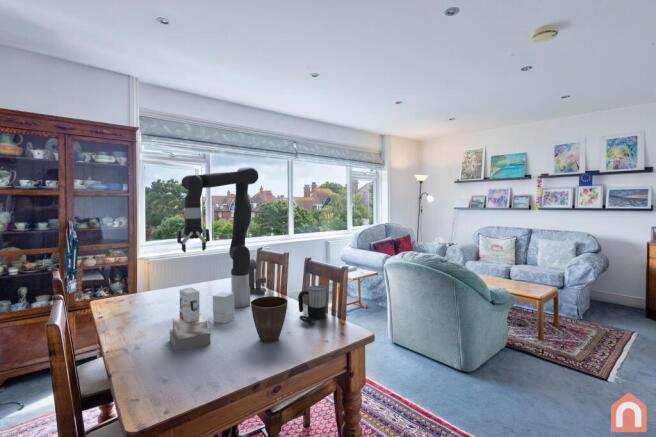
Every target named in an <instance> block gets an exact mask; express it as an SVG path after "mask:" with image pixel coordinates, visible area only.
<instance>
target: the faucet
mask: <svg viewBox="0 0 656 437" xmlns="http://www.w3.org/2000/svg"><path fill="white" fill-rule="evenodd" d="M257 268H258V264H257V261H256V260H255V259H252V258H250V269H249V288H250V295H265V293H266V292H267V289H266V288H265V287H262V284H266V283H267V277H258V278H257V279H255V270H257ZM255 280H256V281H255Z"/></svg>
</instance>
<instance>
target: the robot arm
mask: <svg viewBox="0 0 656 437" xmlns="http://www.w3.org/2000/svg"><path fill="white" fill-rule="evenodd" d="M258 179H259V172H258V170H256V169H255V168H254V167H251V166H250V167H249V166H247V167H245V166H244V167H239V168H238V169H237V171H222V172H209V173H203V174H191V175H190V174H189V175H186V176H184V177H183V178H182V179H181V186H182V188H183V189H185V190H187V191H188V192H187V195H186V196H184V213H183V214H184V230H180V229H178V230H177V238H176V242H177V243H178V244H181V251H182V252H183V253H186V252H187V247H186V243H187V242H188V241H189V239H190V240H193V239H199V240H200V241H201V250H202V251H205V250H206V249H207V242H210V241H211V238H210V230H209V228H203V222H202V221H203V220H202V217H203V216H202V213H203V212H202V208H201V207H202V206H201V204H202V203H201V202H202V200H201V198H202V193H203V189H211V188H216V187H217V188H218V187H223V186H228V185H230V186H231V185H235V197H234V199H235V200H234V209H233V221H232V235H231V240H230V246H229V257H230V259H232V268H231V270H230V273H231V274H230V283H231V284H230V285H231V286H230V287H231V289H230V290H231V292H230V293H234V309H235V308H236V309H238V308H239V309H241V308H246V307H249V306H251V294H250V288H249V269H250V260H251V252H250V249H249V248H248V247H247V246H246V237H247V236H246V235H247V232H248V229H249V227H250V224H251V219H252V205H251V202H250V199H249V193H248V192H249V191H248V190H249V185H254V184H255V183H256V182H257V181H258ZM183 233H184V234H185V236H184V238H183V240H182V236H183V235H184V234H183ZM203 233H204V234H205V238H204V237H203V235H202V234H203Z"/></svg>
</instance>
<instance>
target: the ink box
mask: <svg viewBox="0 0 656 437" xmlns="http://www.w3.org/2000/svg"><path fill="white" fill-rule="evenodd" d="M199 313H200V290H197V289H196V288H194V287H186V288H181V289H179V317H180V318H181V319H183V320H185V321H186V322H188V323H189V322H193V321H197V320H200V314H199Z"/></svg>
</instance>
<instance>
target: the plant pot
mask: <svg viewBox="0 0 656 437" xmlns="http://www.w3.org/2000/svg"><path fill="white" fill-rule="evenodd" d="M288 303H289V302H288V299H287V298H285V297H282V296H277V295H276V296H275V295H274V296H272V295H271V296H261V297H257V298H254V299H252V300H250V307H251V315H252V318H253V323H254V327H255V330H256V332H257V335H258V338H259V341H260V342H261V343H265V344H274V343H276V342H278V341H279V339H280V337H281V336H280V335H281V333H282V330H283V327H284V324H285V319H286V315H287V310H288Z"/></svg>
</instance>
